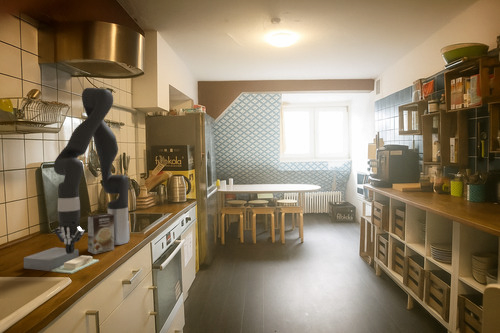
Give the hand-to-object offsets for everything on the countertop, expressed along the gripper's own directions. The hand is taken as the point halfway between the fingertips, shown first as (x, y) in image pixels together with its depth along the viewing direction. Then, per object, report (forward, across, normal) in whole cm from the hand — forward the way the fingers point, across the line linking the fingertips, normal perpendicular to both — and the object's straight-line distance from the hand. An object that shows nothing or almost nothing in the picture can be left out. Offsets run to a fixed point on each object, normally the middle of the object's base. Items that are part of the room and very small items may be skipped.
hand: (70, 253), depth 123 cm
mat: (+5, -3, 0) cm, 6 cm away
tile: (+2, -4, 0) cm, 4 cm away
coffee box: (+5, +2, -19) cm, 20 cm away
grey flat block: (+5, +9, 0) cm, 10 cm away
